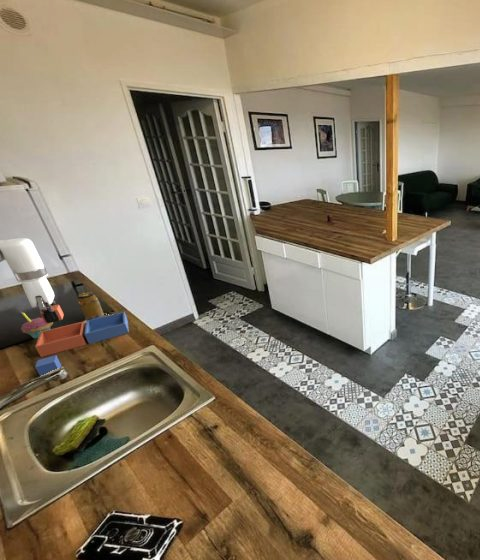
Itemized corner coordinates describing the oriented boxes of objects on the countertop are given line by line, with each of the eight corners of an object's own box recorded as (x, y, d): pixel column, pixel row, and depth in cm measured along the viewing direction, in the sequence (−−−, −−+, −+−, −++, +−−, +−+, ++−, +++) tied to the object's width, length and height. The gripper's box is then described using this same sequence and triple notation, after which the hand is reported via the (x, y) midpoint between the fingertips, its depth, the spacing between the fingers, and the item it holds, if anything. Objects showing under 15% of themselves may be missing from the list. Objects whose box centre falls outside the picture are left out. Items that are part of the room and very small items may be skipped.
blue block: (41, 378, 102) (34, 367, 100) (43, 370, 105) (37, 360, 104) (60, 372, 105) (54, 361, 103) (61, 365, 108) (56, 355, 106)
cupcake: (34, 343, 119) (19, 316, 114) (21, 338, 122) (6, 312, 117) (62, 331, 127) (49, 305, 122) (49, 327, 129) (36, 302, 124)
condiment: (91, 315, 138) (81, 291, 133) (113, 313, 140) (104, 289, 135) (81, 323, 132) (69, 299, 127) (104, 321, 134) (94, 297, 129)
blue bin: (88, 343, 119) (84, 334, 117) (90, 329, 128) (86, 320, 126) (128, 332, 126) (125, 323, 125) (127, 320, 135) (124, 311, 133)
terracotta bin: (40, 357, 112) (35, 346, 110) (46, 341, 120) (40, 331, 119) (86, 344, 119) (81, 334, 117) (88, 330, 127) (83, 321, 126)
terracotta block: (45, 323, 112) (39, 312, 110) (47, 318, 116) (41, 307, 114) (62, 319, 115) (57, 309, 113) (63, 314, 118) (58, 304, 116)
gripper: (20, 269, 111) (44, 312, 119) (9, 285, 99) (36, 332, 107) (50, 264, 116) (70, 306, 123) (42, 279, 104) (65, 325, 111)
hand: (54, 318), depth 115 cm, fingers closed on terracotta block, 4 cm apart
